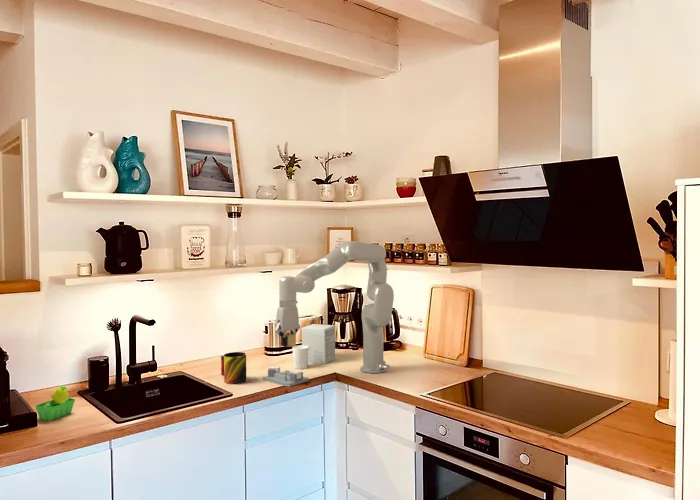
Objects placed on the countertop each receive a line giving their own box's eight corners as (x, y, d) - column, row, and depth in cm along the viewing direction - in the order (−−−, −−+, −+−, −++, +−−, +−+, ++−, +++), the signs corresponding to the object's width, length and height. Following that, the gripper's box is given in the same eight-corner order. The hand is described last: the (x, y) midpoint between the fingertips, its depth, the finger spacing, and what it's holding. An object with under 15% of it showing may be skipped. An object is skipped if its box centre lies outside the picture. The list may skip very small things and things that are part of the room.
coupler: (280, 344, 238) (280, 332, 238) (287, 343, 241) (287, 331, 241) (288, 346, 234) (288, 334, 234) (295, 345, 237) (295, 333, 237)
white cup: (307, 369, 256) (307, 348, 255) (291, 369, 256) (291, 348, 255) (309, 365, 264) (309, 345, 263) (293, 365, 264) (293, 345, 263)
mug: (222, 377, 243) (221, 351, 243) (250, 379, 240) (249, 352, 240) (211, 383, 234) (211, 356, 234) (240, 385, 231) (240, 357, 230)
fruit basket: (61, 409, 200) (60, 380, 200) (79, 412, 197) (78, 382, 197) (33, 420, 190) (33, 388, 189) (51, 423, 187) (51, 391, 186)
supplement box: (335, 358, 277) (335, 325, 277) (325, 364, 265) (324, 329, 265) (313, 356, 282) (312, 323, 282) (301, 362, 270) (301, 327, 270)
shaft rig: (308, 380, 236) (308, 369, 236) (289, 386, 227) (288, 375, 227) (281, 373, 248) (281, 363, 248) (261, 379, 239) (261, 368, 239)
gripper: (296, 301, 246) (296, 341, 246) (267, 305, 233) (267, 346, 234) (307, 303, 240) (307, 343, 241) (278, 306, 228) (278, 349, 229)
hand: (287, 344), depth 238 cm, fingers closed on coupler, 4 cm apart
